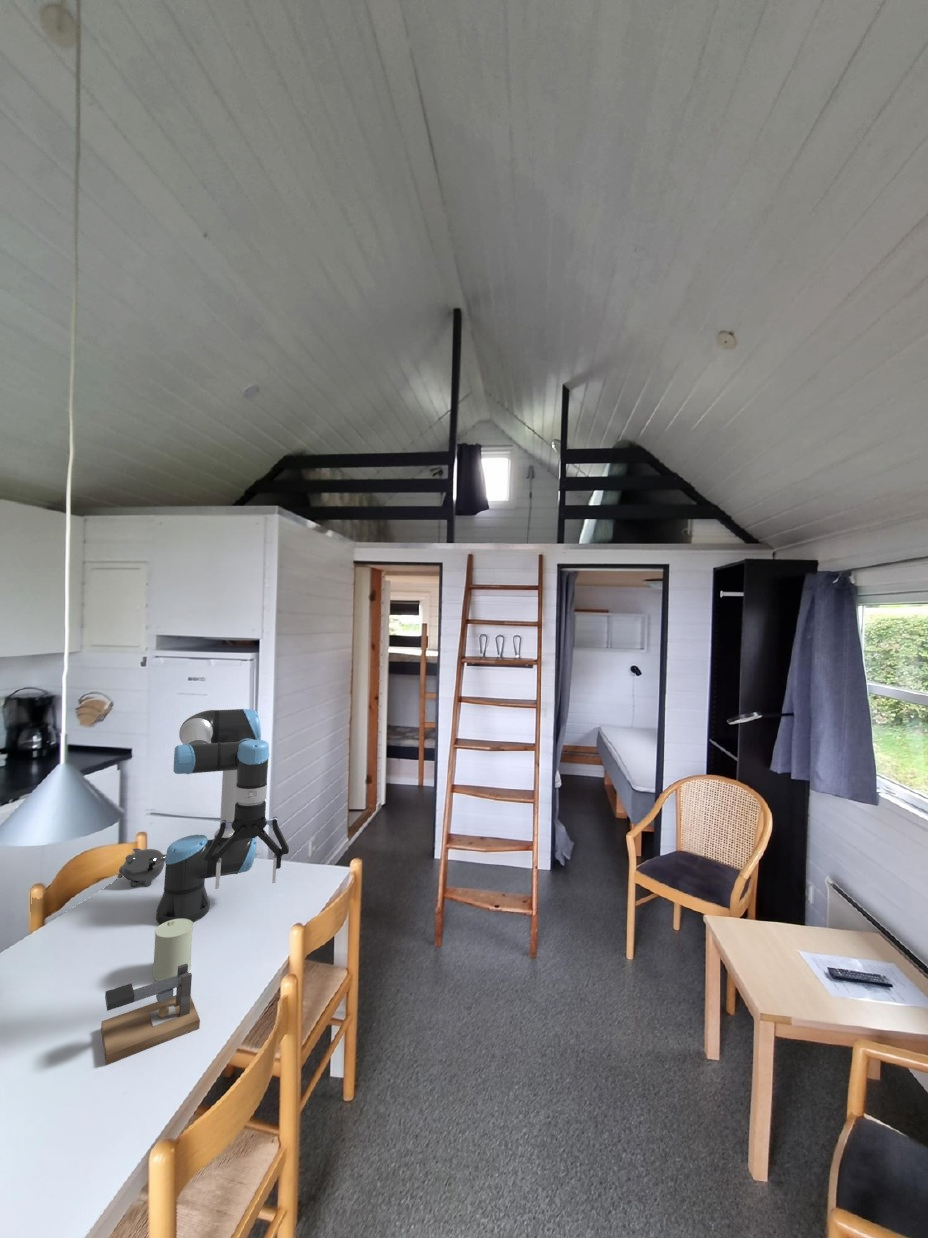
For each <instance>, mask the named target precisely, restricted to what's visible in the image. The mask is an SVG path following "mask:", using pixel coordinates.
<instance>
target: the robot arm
mask: <svg viewBox="0 0 928 1238" xmlns="http://www.w3.org/2000/svg"><path fill="white" fill-rule="evenodd" d="M261 728H262V727H261V722H260V716H259V714H258V712H257V711H256V709H252V708H251V709H249V708H238V709H237V708H236V709H235V708H234V709H232V708H231V709H209V710H204V711H200V712H198V713H196V714H193V715H192V716H190V717H188V718H187V719H185V721H184V722H183V723H182V724H181V725H180V728H179V730H178V731H179V732H178V737H179V740H180V742H181V743H182V744H178V745H176V746H175V747H174V753H173V772H174V774H176V775H183V774H184V775H190V774H191V775H192V774H202V773H203V774H204V773H215V772H222V777H221V779H222V780H221V797H220V798H221V802H220V821H219V828H218V829H217V830H216V831H215V832H214V835H213V836H214V837H213V839H208V837H207V835H205V834H193V835H187V836H184V837H181V838H178V839H177V840H175V841H173V842H172V843H170V844H169V846H168V847H167V849H166V859H165V863H164V864H165V869H164V870H165V872H164V884H163V886H164V887H163V893H162V895H161V899H160V901H159V903H158V906H157V908H156V912H155V920H156V922H157V923H158V924H159V925H161V924H163V923H165V922H167V921H170V920H174V919H189V920H191V921H192V922H193V923H194V922H197V921H198V920H200V919H202V918H203V917H205V916H206V915H207V914H208V912H209V911H210V898H209V896H208V893H207V889H206V886H205V883H206V881H205V880H206V879H211V878H215V885H214V889H215V890H216V889H217V890H218V889H219V888H220V885H221V884H220V882H221V877H223V876H228V875H238V874H242V873H246V872H248V871H250V870H251V869H252V867H253V865H254V861H255V857H256V851H257V840H258V839H257V837H258V838H259V840H261V841H262V842H263V843H264V844H265V845H266V847H268V849H270V850H271V852H272V853H273V867H272V882H271V883H272V884H276V879H277V878H276V877H277V870H278V869H281V867H282V866H281V865H282V857H283V855H288V854H289V852H290V851H289V850H290V849H289V848H290V847H289V845H288V843H287V841H286V838H285V837H284V835H283V833H282V831H281V829H280V827H279V825H278V824H279V823H278V822H279V821H278V817H277V816H274V817H272V818H268V819H267V818H266V809H267V808H266V807H267V802H266V799H267V792H268V791H267V789H268V768H269V759H270V749H269V747H270V745H269V742H267V741H266V740H263V739H262V729H261ZM266 826H269V828H270V829H272V831H273V833H274V835H275V837H276V839H277V842H278V844H279V845H280V847H281V848H280V847H279V845H278V844H277V843H276V842H275V841H274V840H273V839H272V838H271V837H270V835H269V834H268V833H267V831H266V830H265V827H266Z"/></svg>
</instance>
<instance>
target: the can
mask: <svg viewBox="0 0 928 1238" xmlns="http://www.w3.org/2000/svg"><path fill="white" fill-rule="evenodd" d="M193 931H194V922H192V921H191V920H189V919H174V920H170V921H167V922H165V923H163V924H159V925H158V926H157V927H156V928H155V931H154V949H153V950H154V953H153V967H152V974H151V977H152V979H153V980H154V981H156V982H159V981H162V980H165V979H168V978H171V977H174V976H177V973H178V966H180V965H183V964H186V963H187V964H188V973H190V972H191V971H190V970H191V969H192V948H193V947H192V946H193V945H192V944H193Z"/></svg>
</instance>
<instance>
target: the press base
mask: <svg viewBox="0 0 928 1238" xmlns="http://www.w3.org/2000/svg"><path fill="white" fill-rule="evenodd" d="M183 971H188V964H187V963H186V964H183V965H180V966H178V973H177V975H179V974H180V973H181V972H183ZM192 976H193V974H192V972H188V974H185V975H182V976H181V986H180V987H177V988H176V991H175V992H176V994H175V995H173V999H171V1000H168V1001H165V1002H162V1003H159V1004H158V1001H155V1002H153V1003H149V1004H147V1005H144V1006H141V1007H139V1008H135V1009H133V1010H129V1011H127V1012H124V1013H121V1014H118V1015H116V1016H115V1015H114V1016H113V1017H110V1018H107V1019H104V1020H102V1021H101V1023H100V1024H101V1027H100V1031H101V1038H102V1046H103V1053H104V1059H105V1066H107V1065H110V1064H114V1063H115V1062H118V1061H120V1060H123V1059H125V1058H128V1057H130V1056H133V1055H136V1054H138V1053H141V1052H143V1051H146V1050H148V1049H151V1048H153V1047H156V1046H159V1045H160V1044H161V1045H162V1044H163V1043H166V1042H168V1041H172V1040H174V1039H176V1038H178V1037H181V1036H183V1035H186V1034H189V1033H191V1032H193V1031H196V1030H198V1029H200V1024H201V1023H200V1022H201V1019H200V1017H199V1014H198V1012H197V1011H198V1010H197V1009H196V1006H195V1004H194V1003H195V1002H194V1001H193V998H192V996H191V995H192V980H193V979H192V978H193V977H192Z"/></svg>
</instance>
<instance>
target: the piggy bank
mask: <svg viewBox="0 0 928 1238" xmlns="http://www.w3.org/2000/svg"><path fill="white" fill-rule="evenodd" d="M132 851H133V853H131V854H128V855H127V856H126V857H125V862H124V864H122V865H121V866H120V867H119V869H118V873H120V875H122V876H123V877H124V878H125V879H126V880H127V881H129V882H130V887H131V888H136V887H137V886H138V884H140V883H144V886H145V887H146V888H147V887H150V886H151V885H152V882H153V881H154V880H155V879H157V878H158V877H159V876H160V875H161V874H162V872H163V869H164V866H165V864H166V863H165V859H166V854H167V853H166V854H163V852H161V850H158V849H155V848H146V849H141V848H138V847H137V848H135V847H134V848H133V849H132Z"/></svg>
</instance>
